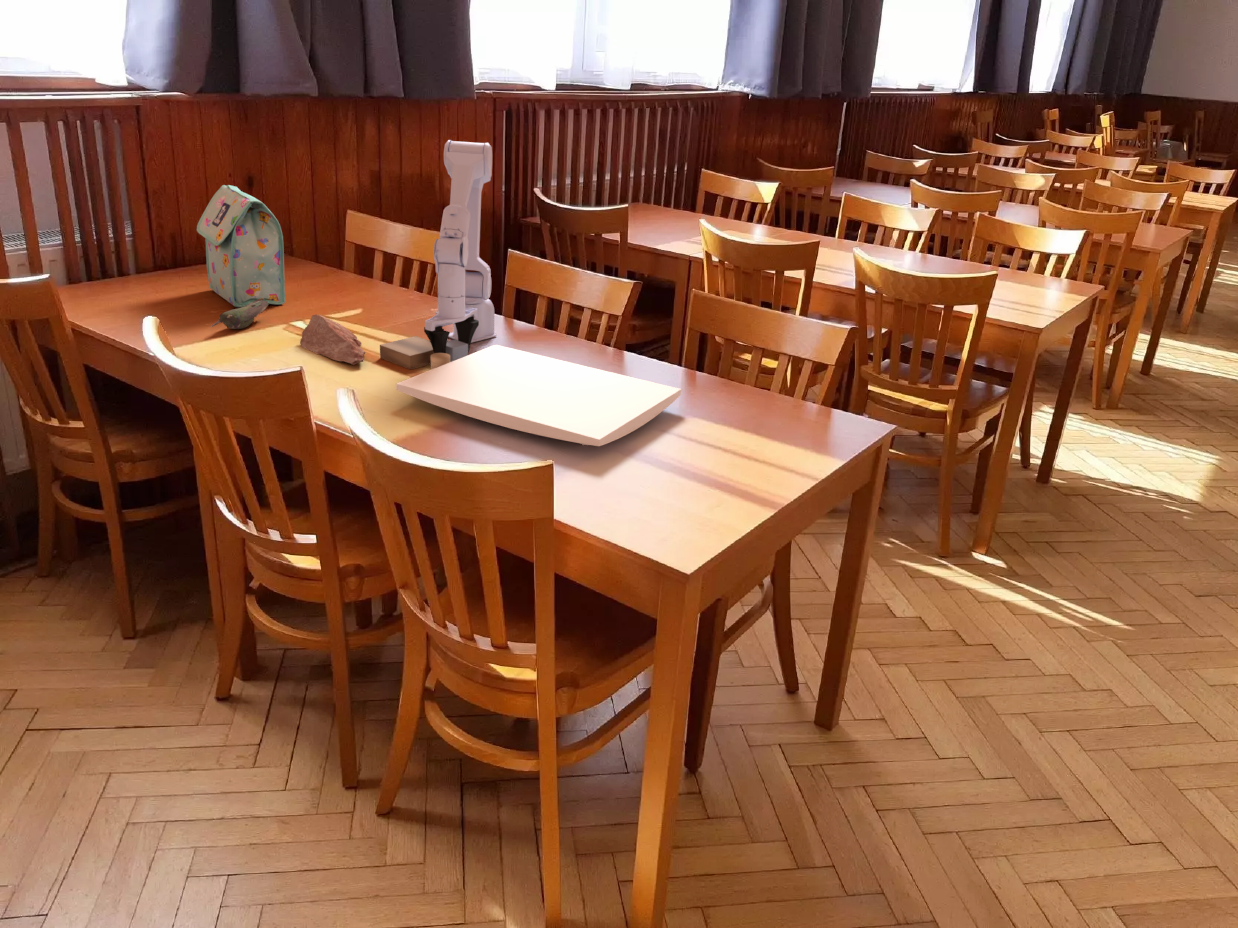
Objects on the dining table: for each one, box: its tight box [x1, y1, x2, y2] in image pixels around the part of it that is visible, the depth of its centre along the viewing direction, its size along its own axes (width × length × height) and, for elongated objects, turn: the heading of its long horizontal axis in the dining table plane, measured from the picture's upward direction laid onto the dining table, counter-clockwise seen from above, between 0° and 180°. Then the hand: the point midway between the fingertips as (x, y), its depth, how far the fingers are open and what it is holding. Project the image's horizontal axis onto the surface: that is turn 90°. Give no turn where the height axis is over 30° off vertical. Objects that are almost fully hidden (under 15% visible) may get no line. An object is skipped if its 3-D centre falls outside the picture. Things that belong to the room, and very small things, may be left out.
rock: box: [299, 314, 366, 365], centre depth 216 cm, size 10×24×10 cm
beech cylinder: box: [430, 353, 450, 370], centre depth 203 cm, size 4×4×5 cm
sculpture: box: [210, 298, 270, 330], centre depth 226 cm, size 5×19×5 cm, turn 158°
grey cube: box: [446, 339, 469, 362], centre depth 213 cm, size 4×4×4 cm
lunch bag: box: [196, 184, 286, 308], centre depth 245 cm, size 23×16×27 cm
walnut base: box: [379, 335, 434, 370], centre depth 213 cm, size 10×10×3 cm
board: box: [395, 344, 682, 447], centre depth 191 cm, size 45×32×5 cm
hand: (452, 355), depth 213 cm, fingers open, 7 cm apart
